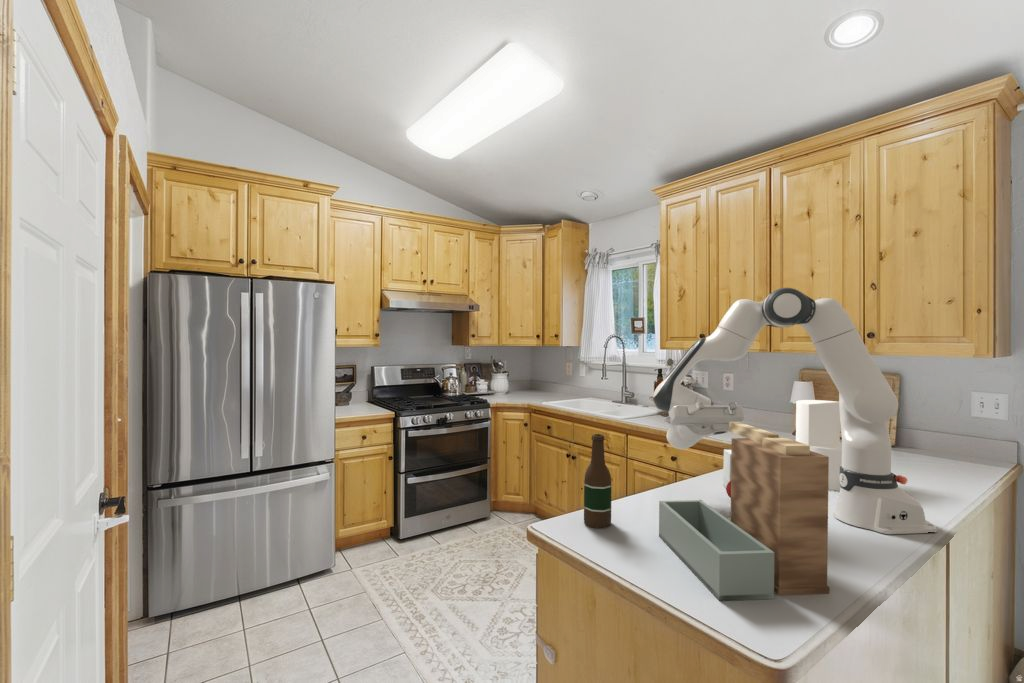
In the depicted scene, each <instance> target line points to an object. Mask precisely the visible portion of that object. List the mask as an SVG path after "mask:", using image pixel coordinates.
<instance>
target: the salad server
mask: <svg viewBox="0 0 1024 683" xmlns="http://www.w3.org/2000/svg"><path fill="white" fill-rule="evenodd" d="M728 433H732V434H735V435H737V436H740V437H742V438H748V439H751V440H754V441H756V442H759V443H762V446H764V447H767V448H769V449H772V450H775V451H777V452H780V453H783V454H785V455H810V446H809V445H806V444H803V443H800V442H797V441H796V440H793V439H790V438H787V437H785V436H784V437H782V436H781V437H779V436H780V435H779V434H778V433H775V432H771V431H768V430H765V429H762V428H759V427H756V426H752V425H750V424H746V423H743V422H729V432H728Z"/></svg>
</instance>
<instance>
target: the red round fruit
mask: <svg viewBox="0 0 1024 683" xmlns="http://www.w3.org/2000/svg"><path fill="white" fill-rule="evenodd" d="M725 491H726V495H727V497H729V498H730V499H731V481H730V482H729V483H728V484H727V486H726V488H725Z"/></svg>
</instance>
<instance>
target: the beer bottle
mask: <svg viewBox="0 0 1024 683" xmlns="http://www.w3.org/2000/svg"><path fill="white" fill-rule="evenodd" d="M605 440H606V439H605V435H604V434H600V433H595V434H592V435H591V442H592V444H591V458H590V464H589V465H588V466H587V468H586V470H585V472H584V473H585V474H584V479H583V480H584V481H583V482H584V483H583V484H584V485H583V487H584V488H583V524H584V525H585V526H587V527H589V528H591V529H601V530H603V529H605V528H609V527H611V525H612V477H611V473H610V472H611V471H610V469H609V468H608V466H607V465H606V461H605V460H606V459H605V442H604V441H605Z"/></svg>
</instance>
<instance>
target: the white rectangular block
mask: <svg viewBox="0 0 1024 683" xmlns="http://www.w3.org/2000/svg"><path fill="white" fill-rule="evenodd" d="M795 404H796V405H795V406H796V407H795V408H796V409H795V410H796V411H795V419H796V420H795V441H797V442H800V443H803V444H806V445H809V446H810V451H813V452H816V453H819V454H822V455H825V456H828V457H829V474H828V491H832V490H836V491H837V492H840V482H839V473H840V466H842V441H841V424H840V409H839V401H837V400H836V401H835V400H834V401H833V400H825V399H824V400H822V399H800V400H799V399H798V400H796V401H795ZM836 491H835V492H836Z"/></svg>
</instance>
